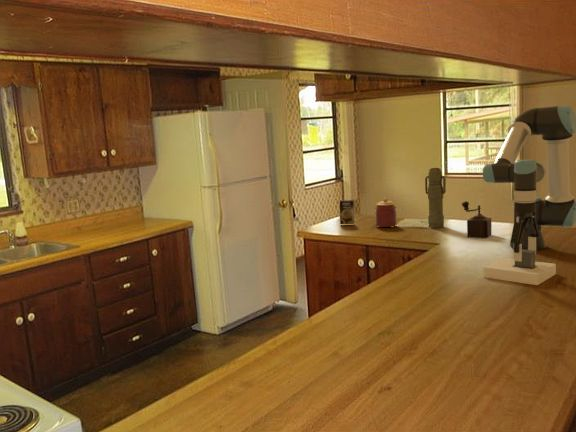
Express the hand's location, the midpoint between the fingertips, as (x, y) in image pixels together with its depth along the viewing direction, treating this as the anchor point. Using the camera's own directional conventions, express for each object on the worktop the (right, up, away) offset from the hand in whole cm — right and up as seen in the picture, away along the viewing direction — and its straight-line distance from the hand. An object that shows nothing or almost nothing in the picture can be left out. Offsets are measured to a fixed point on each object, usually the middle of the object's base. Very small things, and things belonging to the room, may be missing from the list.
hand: (524, 257), depth 199 cm
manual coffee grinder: (+10, +5, +83) cm, 83 cm away
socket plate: (-1, -7, +2) cm, 8 cm away
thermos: (-1, +9, +114) cm, 115 cm away
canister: (-29, +9, +127) cm, 130 cm away
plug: (0, -7, +1) cm, 7 cm away
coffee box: (-51, +9, +140) cm, 149 cm away
